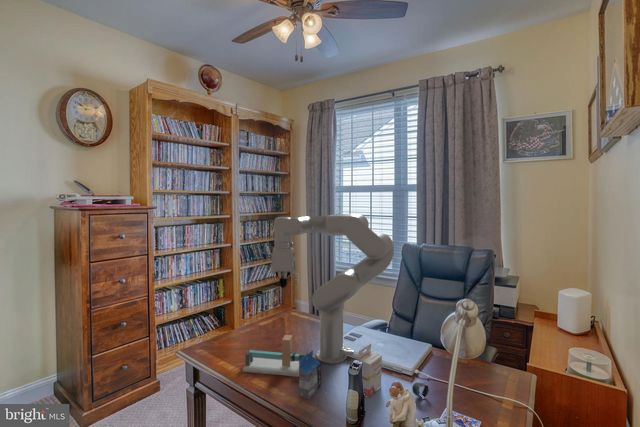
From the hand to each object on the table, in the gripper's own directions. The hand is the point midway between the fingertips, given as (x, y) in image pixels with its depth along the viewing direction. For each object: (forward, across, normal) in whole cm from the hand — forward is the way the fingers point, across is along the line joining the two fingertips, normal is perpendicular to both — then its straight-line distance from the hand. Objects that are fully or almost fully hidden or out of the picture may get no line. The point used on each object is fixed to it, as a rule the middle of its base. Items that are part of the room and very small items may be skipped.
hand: (283, 286), depth 143 cm
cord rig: (+27, -2, +18) cm, 32 cm away
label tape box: (+27, -18, +30) cm, 44 cm away
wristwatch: (+27, -55, +28) cm, 67 cm away
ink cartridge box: (+27, -38, +26) cm, 54 cm away
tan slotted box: (+25, -7, +17) cm, 31 cm away
